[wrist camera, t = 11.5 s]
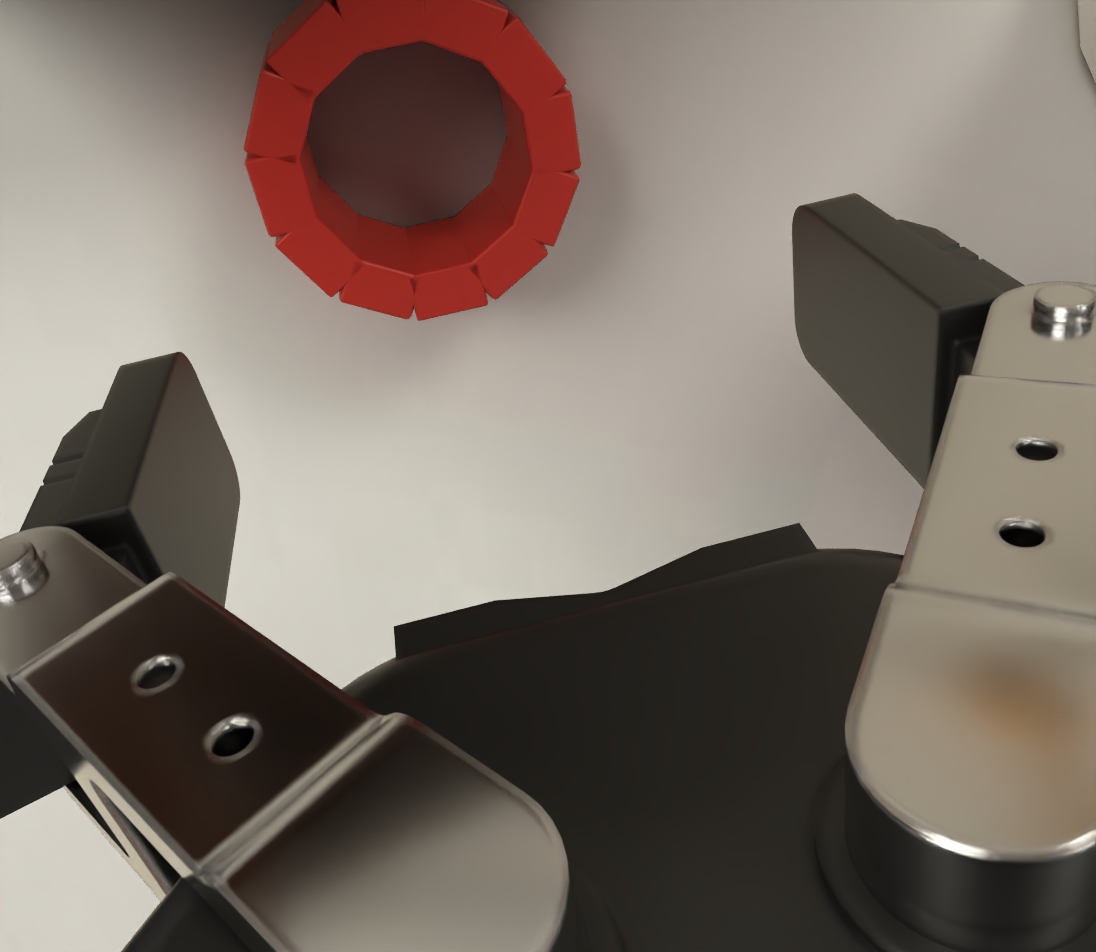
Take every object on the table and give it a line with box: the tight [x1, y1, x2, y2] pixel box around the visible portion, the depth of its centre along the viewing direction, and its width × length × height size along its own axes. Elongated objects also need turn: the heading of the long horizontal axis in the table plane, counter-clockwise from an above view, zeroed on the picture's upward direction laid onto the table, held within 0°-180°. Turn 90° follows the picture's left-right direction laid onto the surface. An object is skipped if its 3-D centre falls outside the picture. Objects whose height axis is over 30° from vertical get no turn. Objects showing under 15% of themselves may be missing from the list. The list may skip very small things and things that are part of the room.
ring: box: [244, 0, 581, 321], centre depth 20 cm, size 6×6×3 cm
